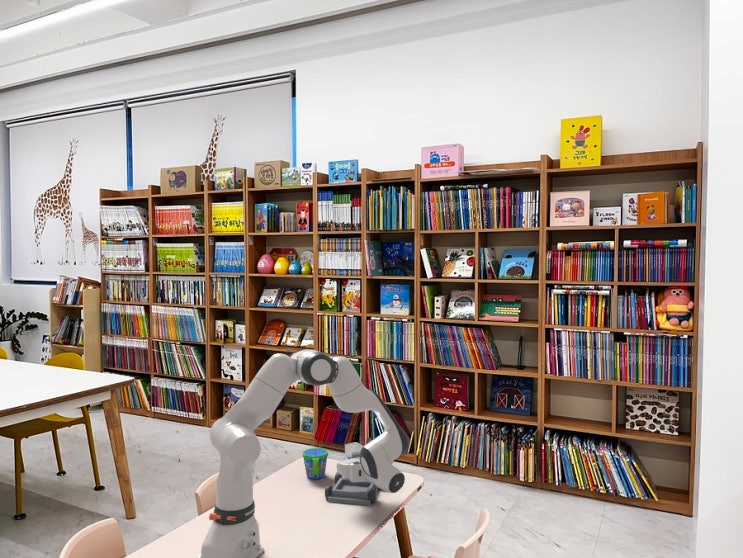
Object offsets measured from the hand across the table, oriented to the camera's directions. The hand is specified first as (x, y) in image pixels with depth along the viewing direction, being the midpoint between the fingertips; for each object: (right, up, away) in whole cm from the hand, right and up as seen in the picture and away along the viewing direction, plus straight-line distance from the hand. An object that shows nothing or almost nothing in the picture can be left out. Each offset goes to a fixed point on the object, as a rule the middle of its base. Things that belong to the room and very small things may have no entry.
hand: (352, 457), depth 210 cm
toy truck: (+1, -14, +2) cm, 14 cm away
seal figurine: (+3, -14, +20) cm, 24 cm away
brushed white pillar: (+1, -6, -1) cm, 6 cm away
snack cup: (-16, -14, +18) cm, 28 cm away
